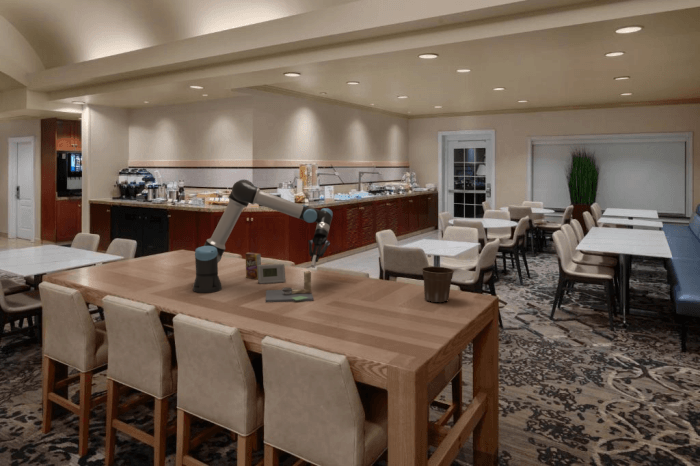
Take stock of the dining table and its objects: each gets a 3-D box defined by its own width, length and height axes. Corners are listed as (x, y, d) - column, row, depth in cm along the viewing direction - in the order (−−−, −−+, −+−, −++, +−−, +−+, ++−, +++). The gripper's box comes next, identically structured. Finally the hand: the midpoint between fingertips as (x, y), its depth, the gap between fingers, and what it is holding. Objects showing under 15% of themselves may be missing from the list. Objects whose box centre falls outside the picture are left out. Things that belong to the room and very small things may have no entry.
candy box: (245, 277, 302) (245, 253, 299) (250, 276, 305) (249, 252, 303) (256, 279, 297) (256, 254, 295) (261, 278, 301) (261, 253, 299)
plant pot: (448, 296, 262) (450, 266, 260) (456, 304, 246) (457, 272, 244) (418, 296, 262) (419, 266, 260) (424, 304, 246) (424, 272, 244)
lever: (283, 295, 256) (283, 274, 254) (281, 292, 260) (281, 272, 259) (311, 292, 261) (311, 272, 259) (309, 290, 265) (309, 270, 264)
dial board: (265, 303, 245) (265, 297, 245) (266, 292, 267) (266, 286, 267) (314, 302, 249) (314, 296, 248) (310, 290, 271) (310, 285, 270)
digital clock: (257, 284, 285) (256, 266, 283) (258, 280, 294) (257, 263, 292) (285, 283, 287) (285, 265, 285) (285, 280, 296) (285, 262, 294)
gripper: (309, 227, 282) (299, 261, 268) (331, 228, 278) (322, 263, 265) (312, 235, 287) (303, 269, 274) (334, 236, 284) (325, 270, 270)
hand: (312, 266), depth 269 cm, fingers closed
